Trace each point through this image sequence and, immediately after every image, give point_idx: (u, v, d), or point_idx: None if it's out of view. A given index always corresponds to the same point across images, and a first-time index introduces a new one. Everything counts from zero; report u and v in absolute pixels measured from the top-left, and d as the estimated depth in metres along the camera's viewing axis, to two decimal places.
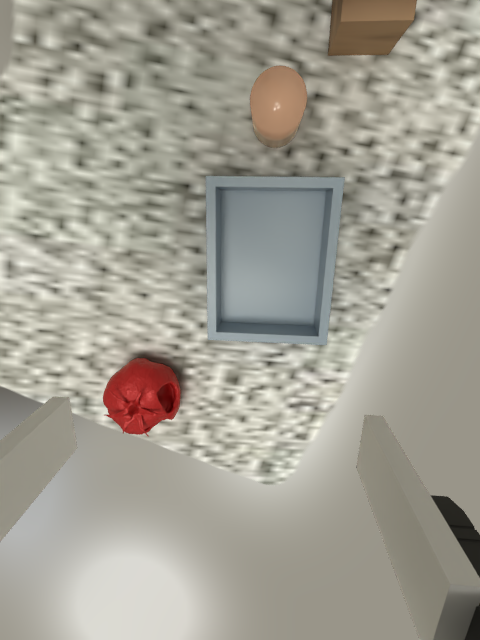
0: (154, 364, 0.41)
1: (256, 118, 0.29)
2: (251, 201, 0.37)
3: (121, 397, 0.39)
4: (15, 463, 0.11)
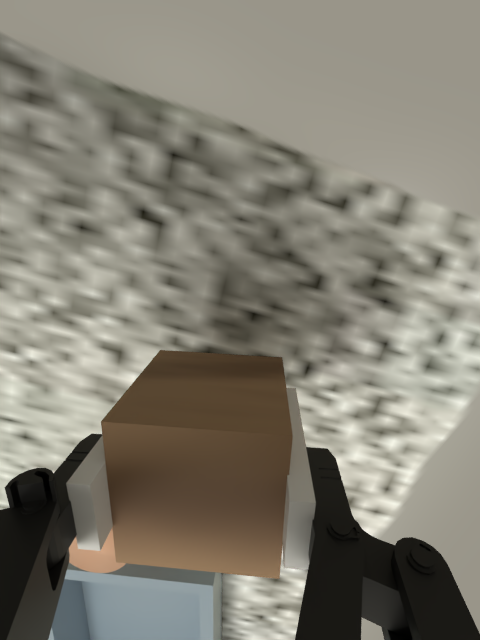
0: None
1: None
2: None
3: None
4: None
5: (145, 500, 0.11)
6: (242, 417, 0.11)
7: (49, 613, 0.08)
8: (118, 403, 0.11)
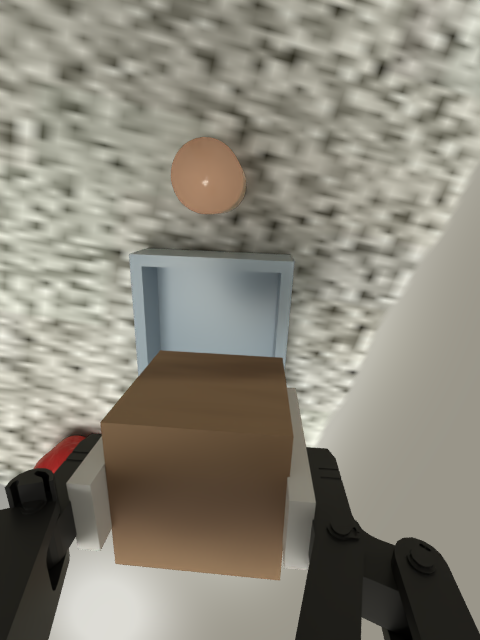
0: None
1: (180, 198, 0.23)
2: (192, 273, 0.31)
3: None
4: None
5: (144, 502, 0.11)
6: (243, 418, 0.10)
7: (49, 613, 0.08)
8: (117, 404, 0.11)
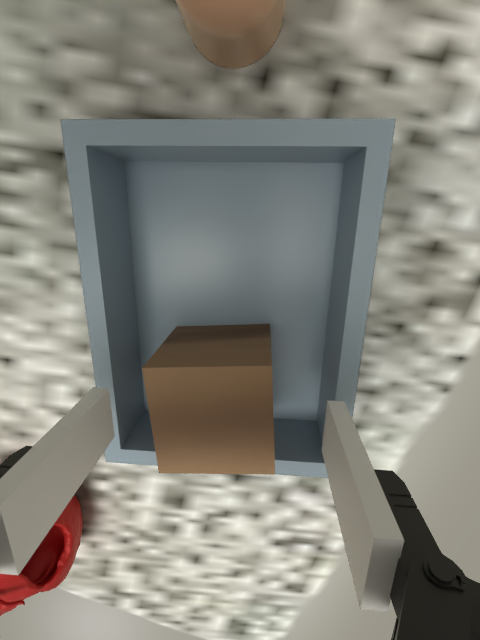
0: None
1: None
2: (188, 185, 0.18)
3: None
4: (68, 447, 0.12)
5: (175, 423, 0.16)
6: (238, 359, 0.15)
7: None
8: (151, 358, 0.16)
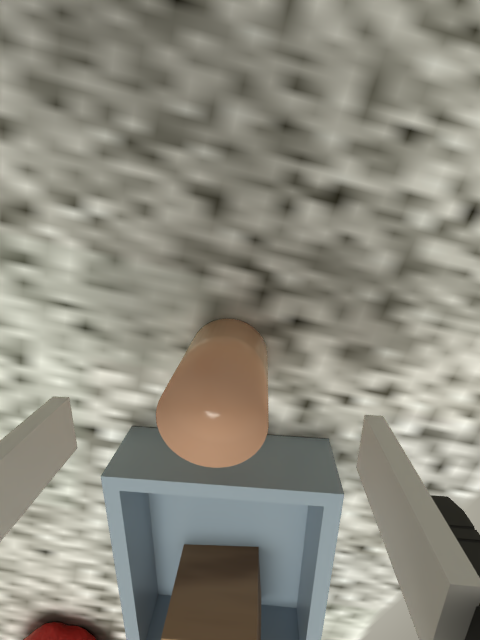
0: None
1: (171, 446, 0.15)
2: None
3: None
4: (15, 463, 0.11)
5: None
6: (232, 627, 0.20)
7: None
8: (166, 616, 0.21)
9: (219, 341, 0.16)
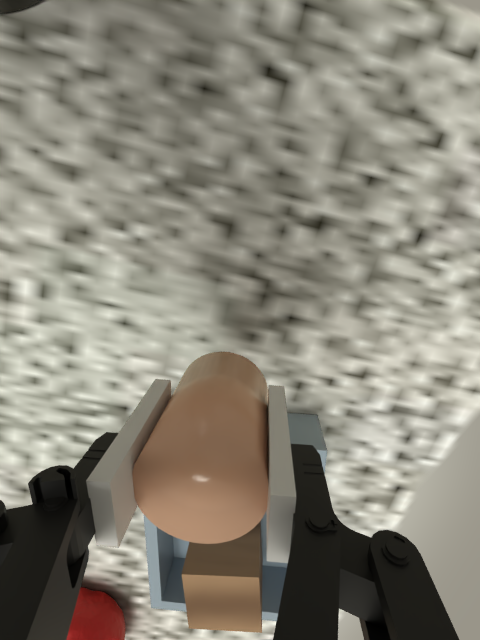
0: (87, 614, 0.32)
1: (150, 517, 0.12)
2: None
3: None
4: (147, 433, 0.13)
5: (200, 603, 0.25)
6: (239, 566, 0.25)
7: (68, 610, 0.08)
8: (185, 559, 0.26)
9: (212, 384, 0.14)
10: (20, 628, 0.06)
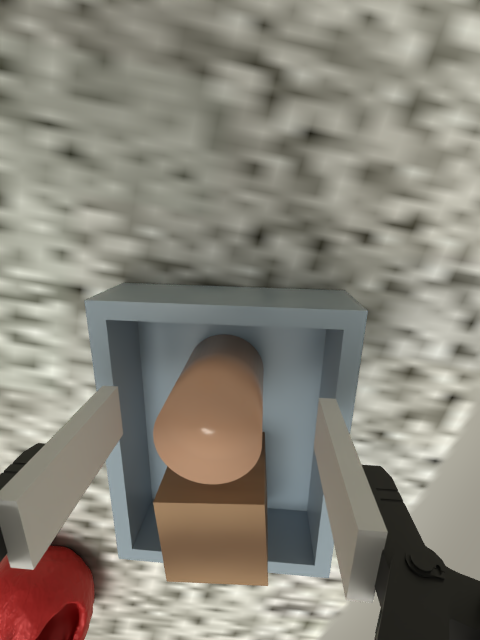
0: (41, 571, 0.25)
1: (166, 461, 0.15)
2: None
3: None
4: (80, 444, 0.12)
5: (181, 544, 0.18)
6: (235, 492, 0.18)
7: None
8: (160, 485, 0.18)
9: (218, 359, 0.17)
10: None
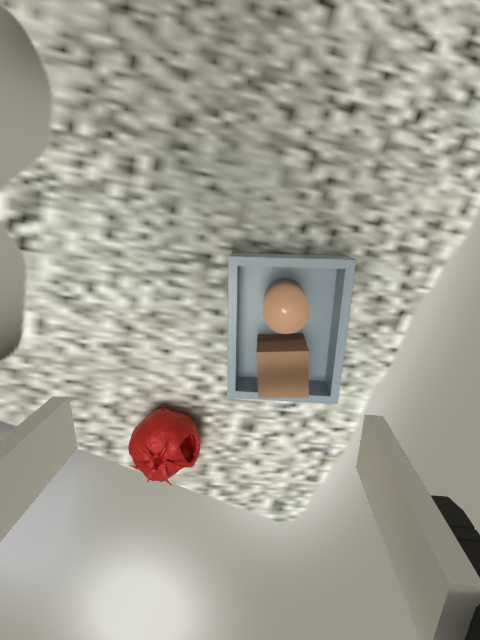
0: (176, 416, 0.44)
1: (266, 321, 0.35)
2: (268, 271, 0.40)
3: (146, 449, 0.42)
4: (15, 463, 0.11)
5: (267, 375, 0.38)
6: (294, 348, 0.37)
7: None
8: None
9: (289, 283, 0.36)
10: None
